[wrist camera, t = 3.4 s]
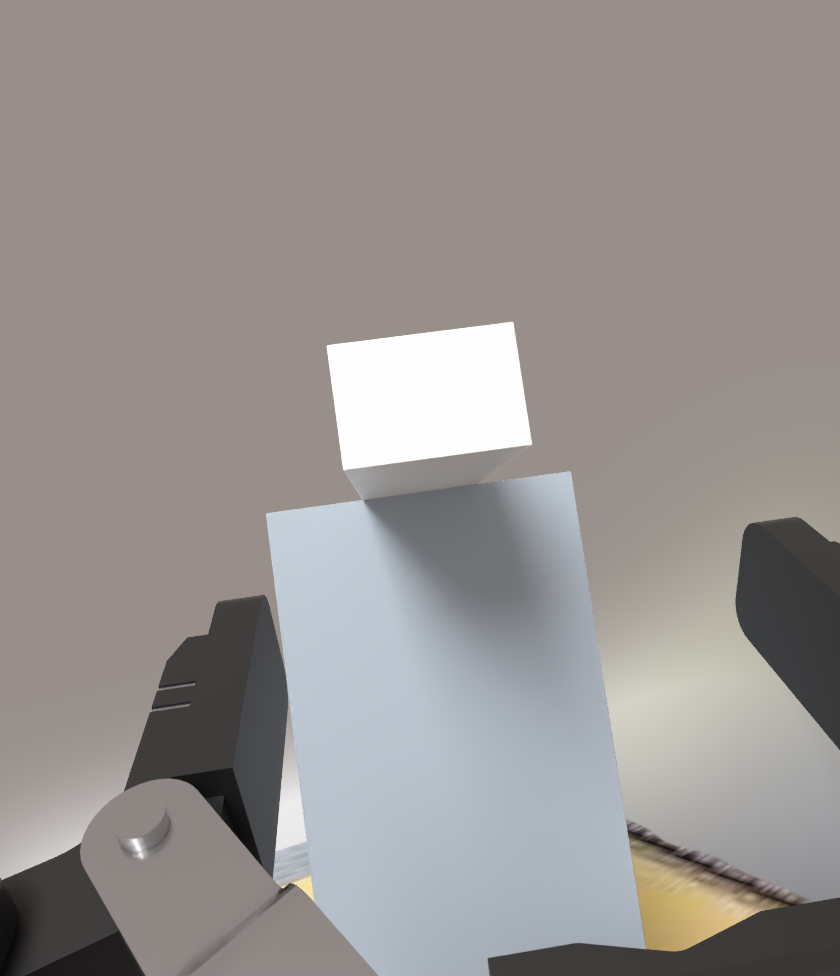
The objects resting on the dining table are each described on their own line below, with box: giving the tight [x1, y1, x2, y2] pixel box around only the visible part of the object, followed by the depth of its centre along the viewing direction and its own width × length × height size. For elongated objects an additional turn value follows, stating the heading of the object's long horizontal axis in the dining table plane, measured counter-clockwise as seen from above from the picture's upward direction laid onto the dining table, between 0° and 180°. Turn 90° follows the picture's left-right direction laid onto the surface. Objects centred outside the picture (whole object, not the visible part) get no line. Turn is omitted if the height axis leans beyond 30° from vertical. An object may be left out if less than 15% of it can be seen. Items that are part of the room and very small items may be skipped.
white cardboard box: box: [327, 322, 532, 500], centre depth 30 cm, size 26×4×6 cm, turn 2°
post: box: [266, 472, 646, 976], centre depth 34 cm, size 17×13×32 cm
